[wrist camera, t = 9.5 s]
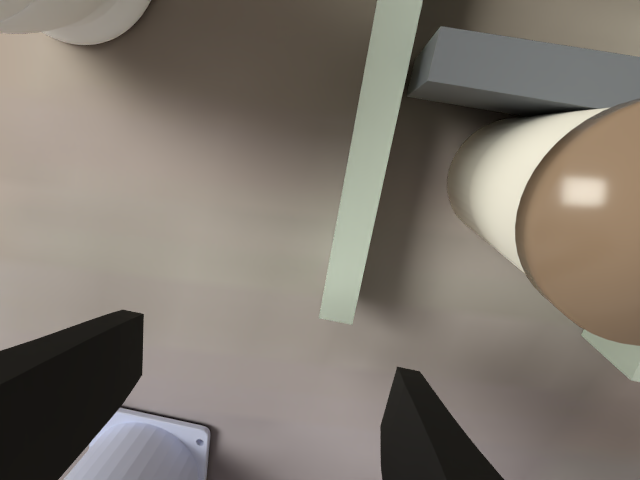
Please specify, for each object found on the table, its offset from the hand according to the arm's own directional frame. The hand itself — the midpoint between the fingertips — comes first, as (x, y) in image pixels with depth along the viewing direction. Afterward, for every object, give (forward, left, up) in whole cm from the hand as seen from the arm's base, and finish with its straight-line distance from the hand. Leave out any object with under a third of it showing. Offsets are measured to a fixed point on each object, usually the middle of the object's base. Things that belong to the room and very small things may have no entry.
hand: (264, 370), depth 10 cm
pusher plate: (+9, -9, -9) cm, 16 cm away
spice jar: (+6, -9, -9) cm, 14 cm away
